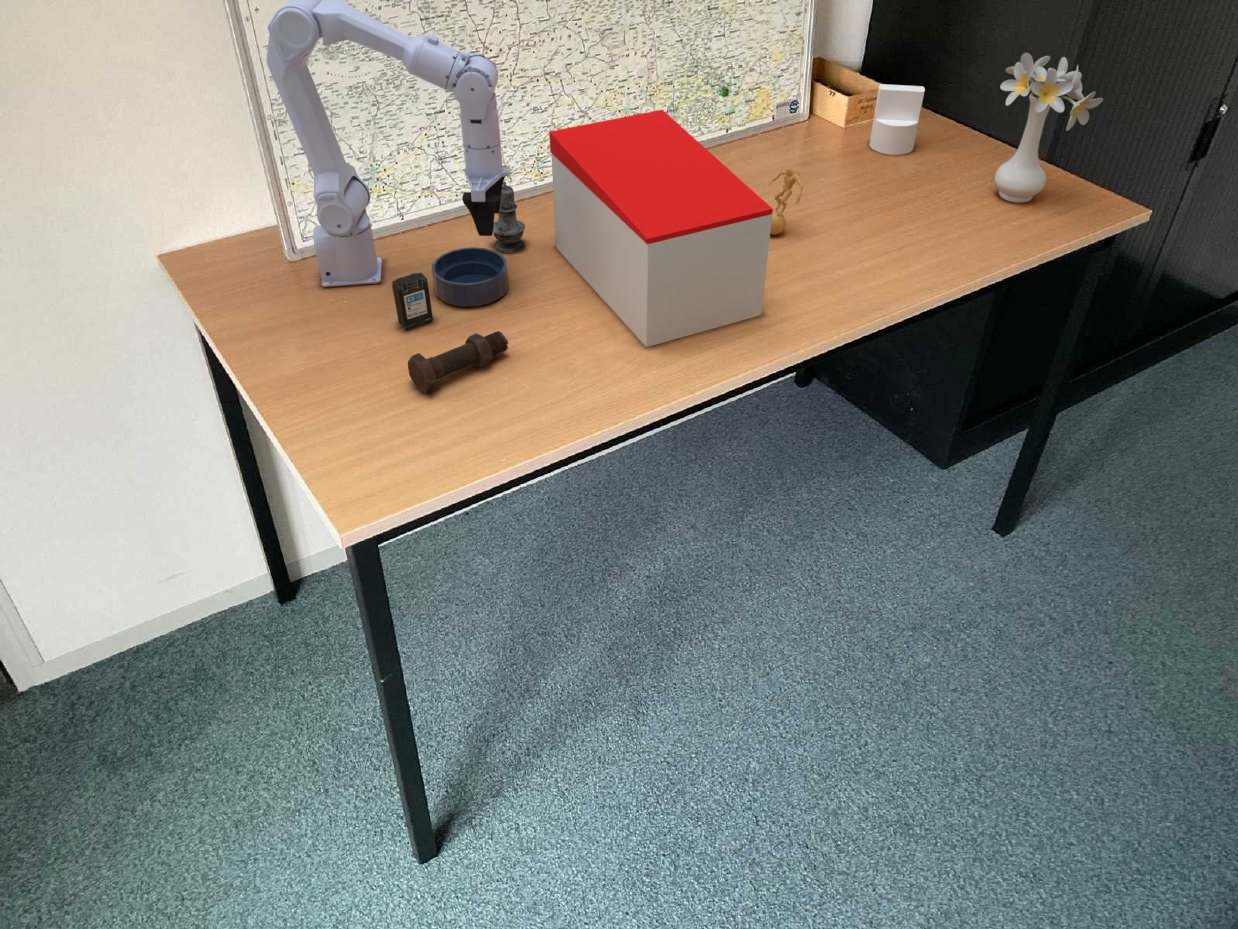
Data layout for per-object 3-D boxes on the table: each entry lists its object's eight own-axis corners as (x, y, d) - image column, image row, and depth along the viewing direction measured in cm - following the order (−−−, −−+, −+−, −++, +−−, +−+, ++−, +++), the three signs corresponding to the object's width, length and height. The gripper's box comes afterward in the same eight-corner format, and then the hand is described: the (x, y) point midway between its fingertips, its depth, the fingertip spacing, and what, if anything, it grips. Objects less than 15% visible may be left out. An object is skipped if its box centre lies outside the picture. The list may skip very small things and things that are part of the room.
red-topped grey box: (658, 222, 183) (661, 108, 170) (761, 314, 159) (774, 192, 146) (554, 246, 176) (548, 130, 163) (645, 347, 152) (647, 221, 139)
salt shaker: (521, 255, 174) (516, 190, 166) (488, 251, 175) (482, 187, 167) (530, 239, 178) (525, 175, 171) (498, 236, 179) (492, 172, 171)
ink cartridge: (404, 331, 156) (397, 286, 151) (398, 324, 157) (391, 280, 152) (433, 321, 158) (427, 277, 153) (427, 315, 159) (420, 270, 154)
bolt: (507, 363, 152) (422, 399, 145) (489, 337, 153) (404, 371, 146) (517, 343, 147) (430, 379, 140) (499, 316, 148) (411, 351, 141)
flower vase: (1044, 224, 182) (1085, 86, 166) (958, 190, 193) (989, 56, 176) (1082, 203, 189) (1126, 67, 172) (997, 170, 199) (1030, 40, 183)
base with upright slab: (869, 153, 206) (879, 94, 198) (868, 135, 212) (878, 78, 205) (914, 156, 205) (926, 97, 197) (912, 138, 211) (923, 80, 203)
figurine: (750, 226, 182) (756, 163, 174) (777, 218, 184) (784, 155, 176) (778, 245, 176) (785, 181, 169) (805, 237, 179) (814, 173, 171)
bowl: (435, 311, 160) (432, 287, 157) (435, 273, 169) (431, 249, 166) (510, 305, 162) (508, 281, 159) (506, 268, 171) (504, 244, 168)
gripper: (501, 162, 147) (508, 245, 156) (513, 123, 158) (519, 203, 167) (453, 161, 147) (463, 244, 156) (469, 122, 158) (477, 202, 167)
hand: (489, 223), depth 162 cm, fingers open, 7 cm apart
